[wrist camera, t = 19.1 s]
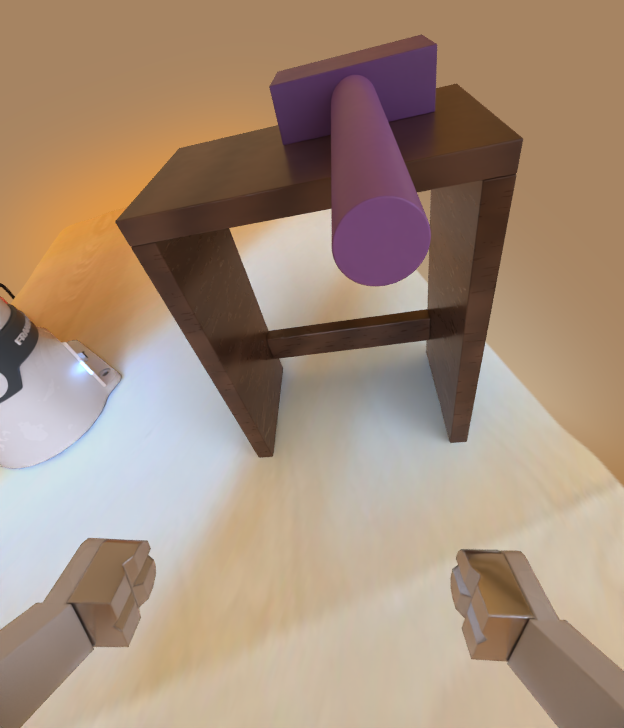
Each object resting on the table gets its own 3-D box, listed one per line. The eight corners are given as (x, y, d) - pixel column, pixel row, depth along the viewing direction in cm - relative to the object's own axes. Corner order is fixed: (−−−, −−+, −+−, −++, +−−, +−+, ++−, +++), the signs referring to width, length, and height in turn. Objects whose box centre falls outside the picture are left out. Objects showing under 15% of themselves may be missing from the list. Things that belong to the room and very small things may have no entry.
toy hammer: (551, 261, 10) (589, 137, 8) (237, 307, 11) (196, 215, 9) (421, 94, 24) (422, 34, 22) (288, 125, 25) (277, 71, 23)
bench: (258, 457, 37) (114, 221, 19) (271, 370, 45) (178, 148, 27) (466, 441, 34) (524, 138, 16) (439, 350, 42) (457, 83, 24)
